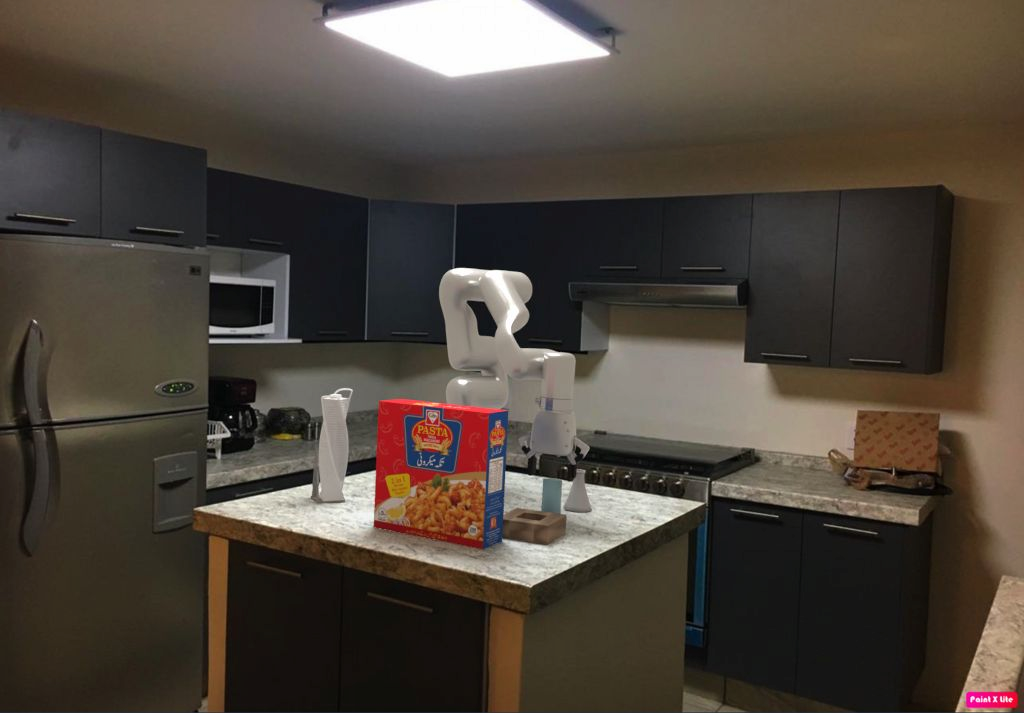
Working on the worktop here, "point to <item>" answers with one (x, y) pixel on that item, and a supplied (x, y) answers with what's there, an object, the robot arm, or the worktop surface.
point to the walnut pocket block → (533, 525)
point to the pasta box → (441, 471)
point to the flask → (578, 495)
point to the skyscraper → (332, 450)
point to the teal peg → (551, 495)
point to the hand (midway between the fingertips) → (551, 477)
